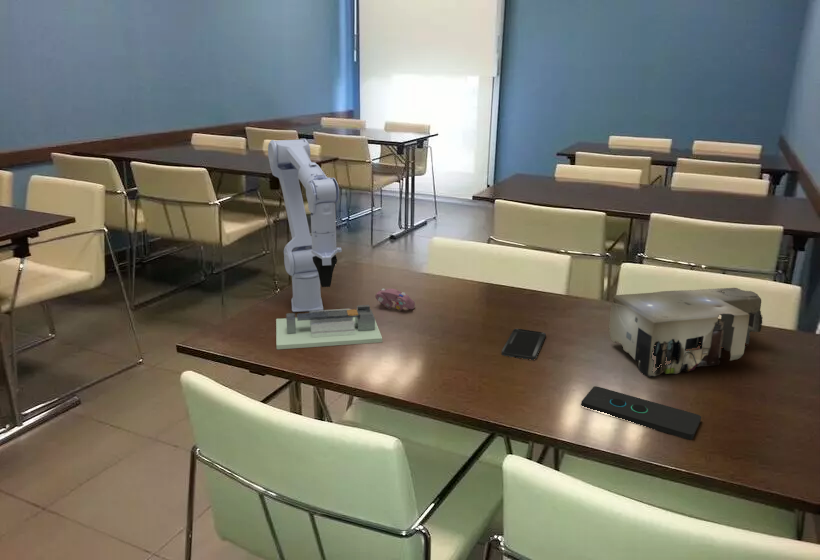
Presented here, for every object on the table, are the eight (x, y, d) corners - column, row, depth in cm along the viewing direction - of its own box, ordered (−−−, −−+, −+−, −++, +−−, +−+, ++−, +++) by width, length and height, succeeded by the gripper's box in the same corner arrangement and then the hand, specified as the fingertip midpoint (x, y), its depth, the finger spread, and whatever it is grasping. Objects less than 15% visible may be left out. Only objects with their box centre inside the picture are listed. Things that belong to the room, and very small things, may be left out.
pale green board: (276, 322, 159) (276, 318, 159) (372, 316, 164) (372, 313, 163) (276, 349, 144) (276, 345, 144) (382, 342, 149) (382, 338, 148)
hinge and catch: (286, 325, 155) (286, 309, 153) (371, 320, 159) (371, 304, 157) (287, 335, 149) (286, 319, 148) (374, 330, 153) (374, 313, 151)
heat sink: (309, 321, 157) (309, 309, 156) (350, 318, 159) (350, 307, 158) (311, 337, 148) (311, 325, 147) (354, 334, 150) (354, 322, 149)
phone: (546, 332, 153) (535, 357, 140) (546, 337, 154) (535, 362, 140) (514, 328, 156) (500, 352, 143) (513, 332, 156) (499, 356, 143)
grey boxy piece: (785, 366, 139) (795, 307, 135) (648, 380, 133) (655, 319, 129) (729, 335, 156) (736, 283, 152) (605, 346, 150) (610, 292, 146)
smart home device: (594, 384, 128) (702, 414, 117) (593, 392, 128) (700, 422, 118) (580, 401, 121) (692, 434, 111) (579, 409, 122) (691, 443, 111)
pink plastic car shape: (377, 311, 171) (371, 292, 167) (384, 299, 174) (379, 281, 170) (410, 318, 167) (404, 299, 163) (417, 306, 170) (412, 287, 165)
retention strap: (297, 315, 153) (296, 312, 152) (365, 311, 156) (365, 308, 156) (297, 320, 150) (297, 317, 150) (367, 316, 153) (367, 313, 153)
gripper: (344, 237, 144) (345, 294, 148) (338, 223, 157) (339, 276, 161) (312, 238, 142) (314, 296, 147) (309, 224, 156) (311, 277, 160)
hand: (325, 286), depth 154 cm, fingers closed
